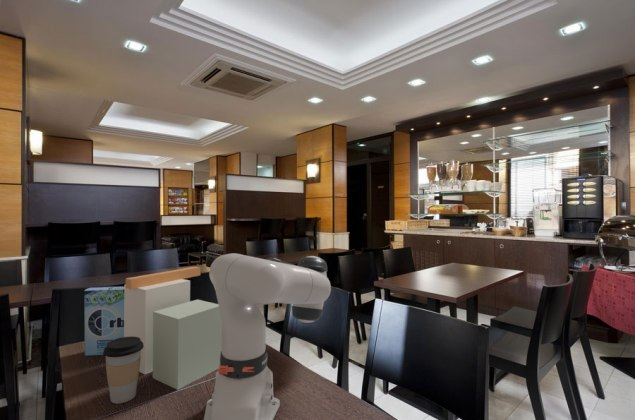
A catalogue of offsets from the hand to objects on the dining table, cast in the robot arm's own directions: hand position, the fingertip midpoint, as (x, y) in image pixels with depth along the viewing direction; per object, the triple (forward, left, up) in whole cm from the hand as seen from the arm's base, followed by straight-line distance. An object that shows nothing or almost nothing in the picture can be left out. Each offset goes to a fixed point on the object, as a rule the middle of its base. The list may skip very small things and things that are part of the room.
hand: (220, 265), depth 134 cm
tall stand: (-23, +15, -28) cm, 39 cm away
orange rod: (-20, +13, -2) cm, 24 cm away
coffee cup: (-45, +14, -28) cm, 55 cm away
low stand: (-32, +1, -28) cm, 42 cm away
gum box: (-17, +32, -28) cm, 46 cm away
